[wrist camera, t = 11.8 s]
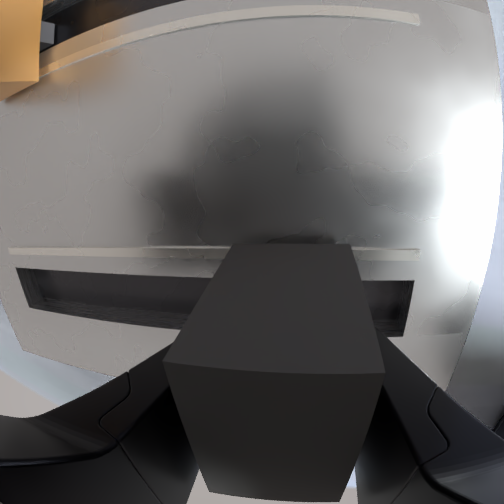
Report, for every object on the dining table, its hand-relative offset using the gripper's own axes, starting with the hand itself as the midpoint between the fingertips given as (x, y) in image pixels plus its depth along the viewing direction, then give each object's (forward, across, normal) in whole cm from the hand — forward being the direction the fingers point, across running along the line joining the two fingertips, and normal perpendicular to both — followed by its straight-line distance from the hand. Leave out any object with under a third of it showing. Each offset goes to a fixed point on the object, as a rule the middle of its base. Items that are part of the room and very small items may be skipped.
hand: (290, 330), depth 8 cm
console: (+3, +4, -5) cm, 7 cm away
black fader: (+2, 0, 0) cm, 2 cm away
